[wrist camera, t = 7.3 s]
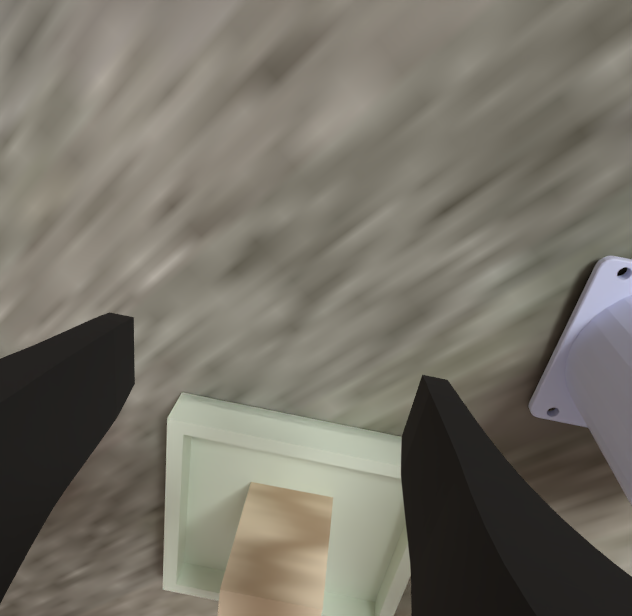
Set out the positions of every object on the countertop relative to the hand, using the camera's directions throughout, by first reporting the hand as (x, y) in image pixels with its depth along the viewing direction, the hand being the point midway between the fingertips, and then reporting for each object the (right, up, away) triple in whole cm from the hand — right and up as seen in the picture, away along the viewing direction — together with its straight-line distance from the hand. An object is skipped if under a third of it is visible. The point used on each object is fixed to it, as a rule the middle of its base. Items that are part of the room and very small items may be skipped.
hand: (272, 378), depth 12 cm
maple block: (-1, -10, +15) cm, 18 cm away
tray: (0, -10, +16) cm, 19 cm away
